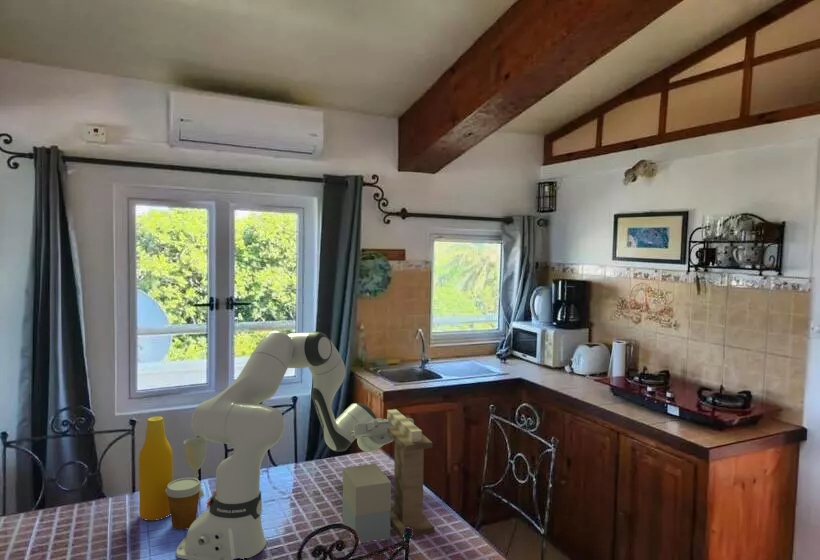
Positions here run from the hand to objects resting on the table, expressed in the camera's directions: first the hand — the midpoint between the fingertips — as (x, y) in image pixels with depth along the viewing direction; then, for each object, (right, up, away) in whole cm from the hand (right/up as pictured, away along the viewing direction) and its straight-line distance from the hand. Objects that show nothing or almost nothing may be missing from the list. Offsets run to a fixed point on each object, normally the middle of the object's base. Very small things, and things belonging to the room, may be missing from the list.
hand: (390, 422), depth 176 cm
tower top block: (-6, -18, -19) cm, 27 cm away
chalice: (-62, -24, +1) cm, 67 cm away
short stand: (+6, -26, -14) cm, 30 cm away
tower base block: (-6, -26, -19) cm, 33 cm away
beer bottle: (-69, -25, -12) cm, 74 cm away
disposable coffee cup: (-59, -25, -17) cm, 66 cm away
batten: (+4, +1, -11) cm, 12 cm away
